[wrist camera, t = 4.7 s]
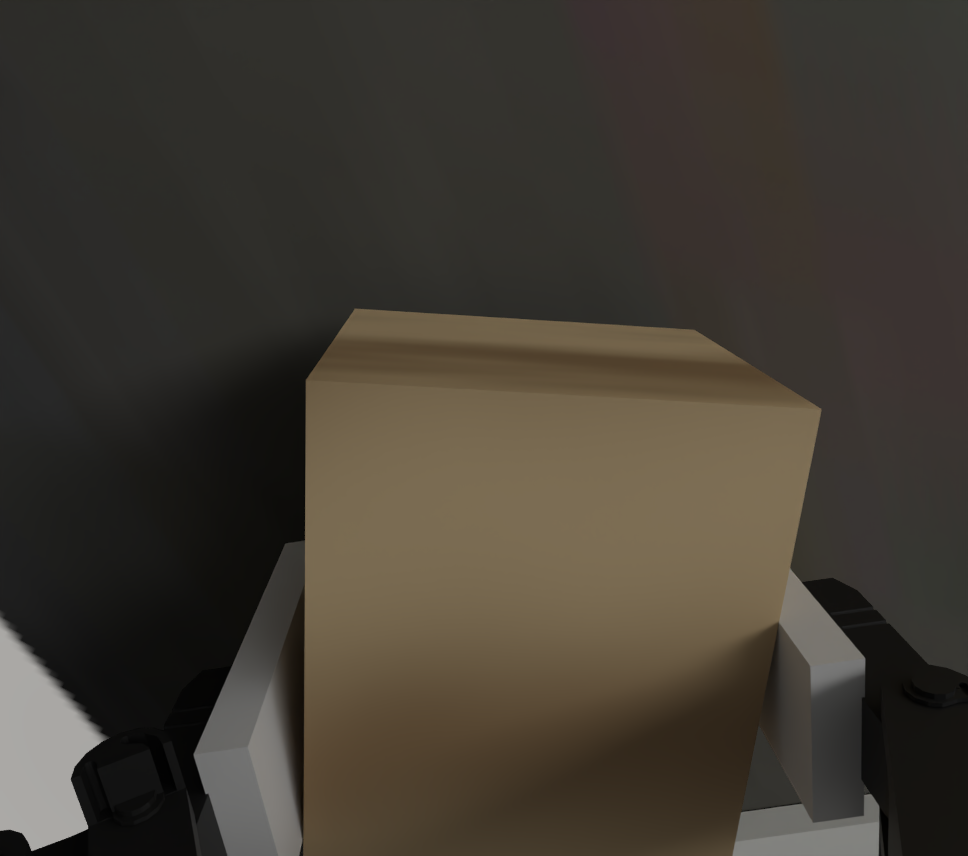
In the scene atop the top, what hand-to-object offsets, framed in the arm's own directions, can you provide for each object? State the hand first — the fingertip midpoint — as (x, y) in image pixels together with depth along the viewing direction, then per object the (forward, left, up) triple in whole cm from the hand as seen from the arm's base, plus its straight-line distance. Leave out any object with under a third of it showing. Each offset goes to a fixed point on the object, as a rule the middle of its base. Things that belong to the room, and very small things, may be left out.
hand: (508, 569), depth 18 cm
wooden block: (0, 0, -1) cm, 1 cm away
